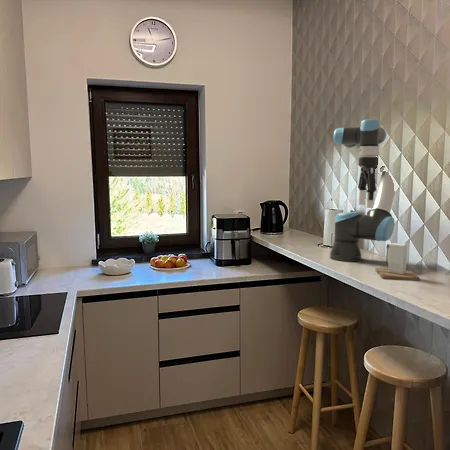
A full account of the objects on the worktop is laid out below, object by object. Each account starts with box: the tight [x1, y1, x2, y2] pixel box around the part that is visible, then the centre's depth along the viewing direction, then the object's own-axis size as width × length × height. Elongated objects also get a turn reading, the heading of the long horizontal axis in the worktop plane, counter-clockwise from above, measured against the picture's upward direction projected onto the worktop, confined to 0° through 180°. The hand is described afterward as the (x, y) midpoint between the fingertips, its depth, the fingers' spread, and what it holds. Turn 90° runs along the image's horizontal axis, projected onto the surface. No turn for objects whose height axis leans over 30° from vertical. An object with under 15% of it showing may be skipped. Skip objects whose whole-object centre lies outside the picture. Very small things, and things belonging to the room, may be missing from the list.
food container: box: [385, 243, 390, 269], centre depth 187 cm, size 12×6×10 cm, turn 168°
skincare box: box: [387, 242, 408, 274], centre depth 173 cm, size 6×4×12 cm
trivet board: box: [374, 267, 420, 282], centre depth 174 cm, size 14×14×1 cm
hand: (365, 206), depth 182 cm, fingers open, 13 cm apart
